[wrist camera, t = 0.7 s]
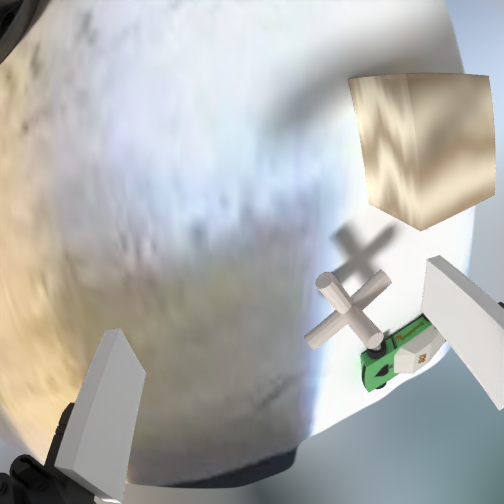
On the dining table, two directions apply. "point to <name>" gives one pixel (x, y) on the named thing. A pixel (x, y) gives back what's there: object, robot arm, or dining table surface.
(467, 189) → the birch block
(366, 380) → the toy car
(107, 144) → the dining table surface
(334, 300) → the pipe connector
